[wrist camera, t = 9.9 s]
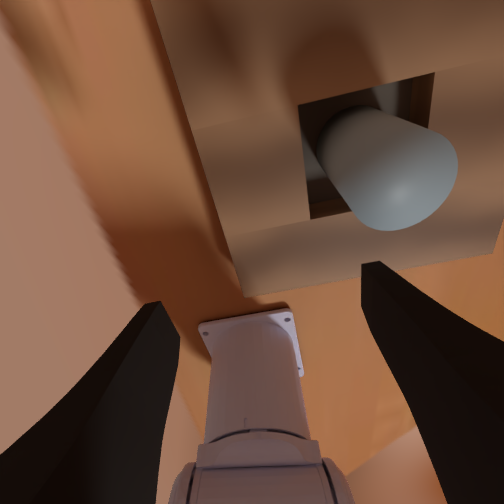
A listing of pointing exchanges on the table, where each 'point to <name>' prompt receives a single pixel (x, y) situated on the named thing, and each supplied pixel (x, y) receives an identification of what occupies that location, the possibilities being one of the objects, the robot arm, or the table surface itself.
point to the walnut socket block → (322, 109)
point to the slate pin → (386, 166)
